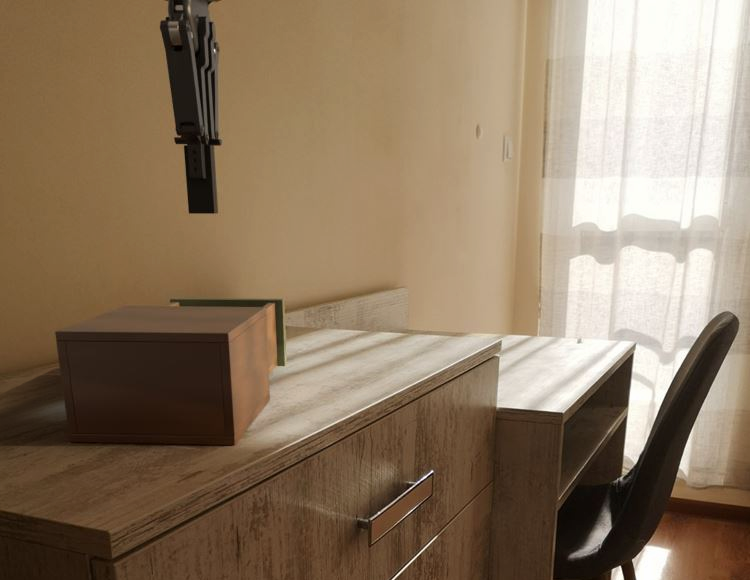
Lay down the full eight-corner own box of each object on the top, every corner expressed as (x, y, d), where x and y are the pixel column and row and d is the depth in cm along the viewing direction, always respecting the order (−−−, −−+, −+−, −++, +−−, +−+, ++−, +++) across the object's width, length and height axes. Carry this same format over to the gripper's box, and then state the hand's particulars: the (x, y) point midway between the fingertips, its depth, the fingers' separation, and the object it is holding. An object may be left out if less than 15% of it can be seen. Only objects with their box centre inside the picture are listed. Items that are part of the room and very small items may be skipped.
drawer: (187, 356, 104) (182, 293, 101) (292, 357, 103) (290, 294, 101) (135, 391, 86) (128, 315, 83) (262, 393, 85) (259, 317, 82)
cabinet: (133, 398, 87) (124, 305, 83) (270, 400, 86) (265, 307, 83) (69, 442, 71) (54, 331, 68) (235, 445, 70) (228, 333, 67)
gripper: (207, -73, 71) (224, 214, 79) (239, -34, 83) (251, 212, 92) (122, -72, 71) (148, 214, 80) (167, -33, 84) (185, 212, 92)
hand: (203, 213), depth 86 cm, fingers closed
